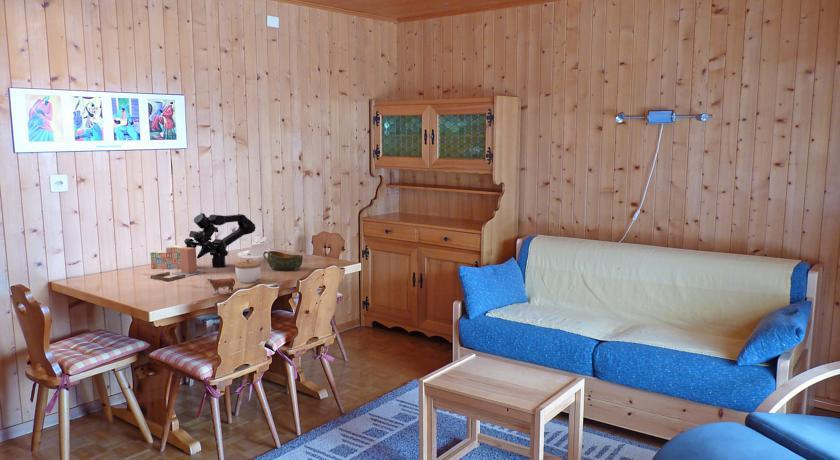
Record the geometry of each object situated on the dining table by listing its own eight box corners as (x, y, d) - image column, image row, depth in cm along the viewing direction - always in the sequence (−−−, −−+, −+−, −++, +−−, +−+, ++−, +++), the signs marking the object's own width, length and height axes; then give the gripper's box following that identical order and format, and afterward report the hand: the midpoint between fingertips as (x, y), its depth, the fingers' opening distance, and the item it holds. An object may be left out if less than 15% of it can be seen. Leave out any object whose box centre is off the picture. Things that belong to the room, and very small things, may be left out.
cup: (279, 265, 376) (278, 247, 374) (305, 269, 365) (305, 251, 363) (262, 269, 365) (261, 251, 364) (288, 274, 354) (288, 255, 353)
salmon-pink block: (189, 270, 358) (188, 247, 357) (196, 272, 356) (195, 248, 354) (181, 272, 354) (180, 248, 352) (188, 273, 351) (187, 249, 349)
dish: (250, 250, 424) (249, 233, 423) (286, 252, 418) (285, 234, 416) (229, 257, 401) (229, 239, 399) (267, 259, 395) (266, 240, 393)
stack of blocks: (150, 269, 366) (149, 246, 364) (156, 266, 372) (155, 244, 370) (188, 269, 364) (187, 247, 363) (193, 267, 371) (192, 245, 369)
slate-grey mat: (190, 270, 363) (190, 269, 363) (205, 272, 357) (205, 271, 357) (172, 274, 353) (172, 273, 353) (187, 276, 347) (187, 275, 347)
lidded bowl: (266, 281, 337) (265, 259, 335) (244, 285, 328) (243, 263, 326) (251, 277, 345) (251, 256, 344) (230, 281, 336) (229, 259, 334)
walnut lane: (168, 274, 351) (168, 271, 351) (185, 277, 345) (185, 274, 344) (150, 278, 342) (150, 275, 342) (167, 281, 335) (167, 278, 335)
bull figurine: (206, 292, 312) (206, 275, 311) (236, 292, 313) (235, 275, 312) (204, 295, 308) (204, 277, 307) (234, 294, 309) (233, 277, 308)
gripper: (185, 223, 362) (170, 246, 354) (209, 226, 352) (194, 250, 345) (198, 235, 370) (183, 258, 362) (222, 238, 360) (207, 262, 353)
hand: (191, 257), depth 355 cm, fingers open, 9 cm apart
